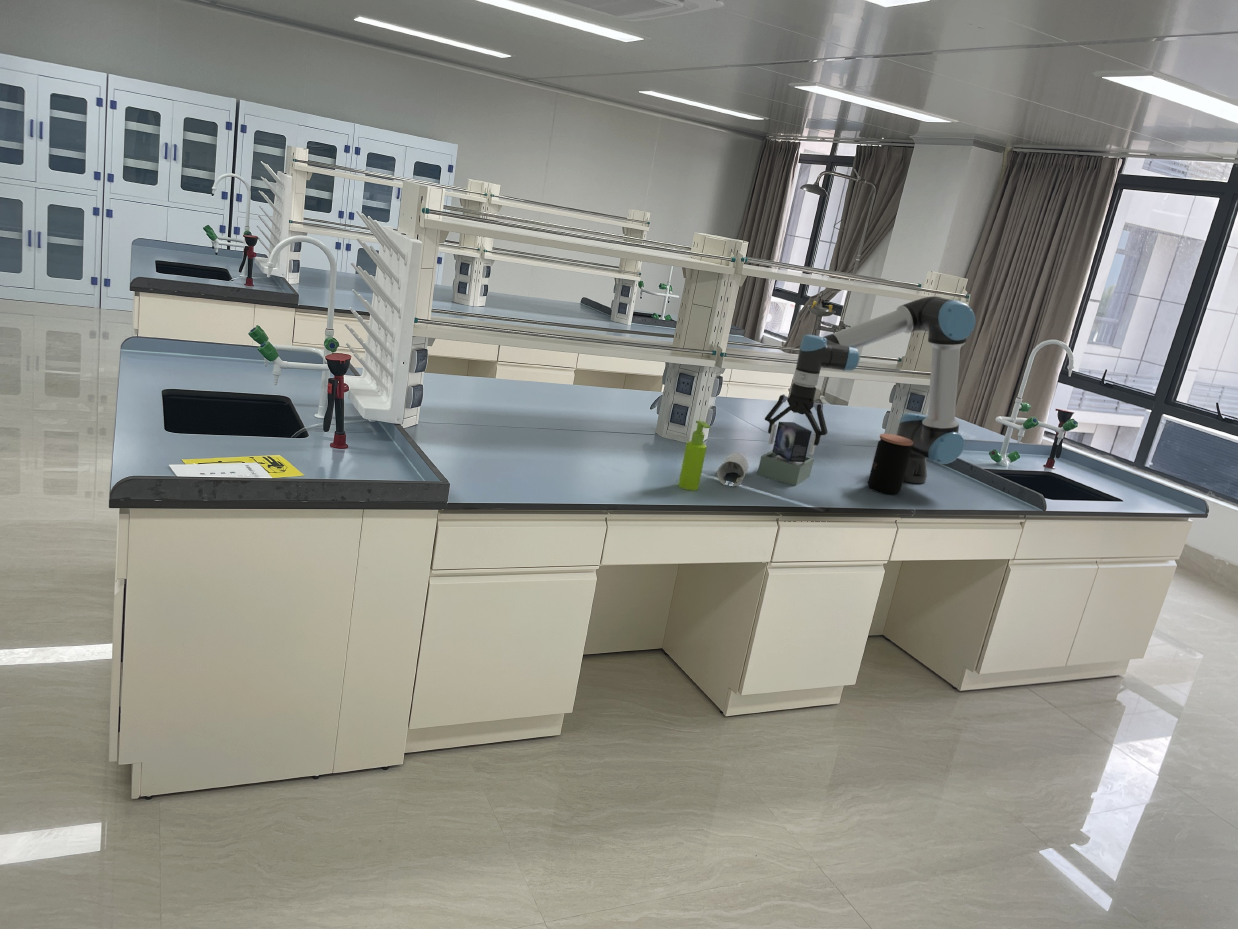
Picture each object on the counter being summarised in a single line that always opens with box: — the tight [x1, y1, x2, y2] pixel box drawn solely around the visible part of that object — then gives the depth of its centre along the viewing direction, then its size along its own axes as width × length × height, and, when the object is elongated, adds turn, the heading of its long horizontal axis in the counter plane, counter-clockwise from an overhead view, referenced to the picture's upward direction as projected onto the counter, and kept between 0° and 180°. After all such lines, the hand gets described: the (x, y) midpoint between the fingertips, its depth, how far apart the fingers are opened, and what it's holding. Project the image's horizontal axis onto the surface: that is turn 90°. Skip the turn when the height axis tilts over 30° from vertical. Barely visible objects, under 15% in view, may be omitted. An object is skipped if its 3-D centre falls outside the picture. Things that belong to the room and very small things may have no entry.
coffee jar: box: [867, 433, 913, 496], centre depth 287 cm, size 11×11×18 cm
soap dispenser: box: [678, 420, 711, 491], centre depth 253 cm, size 6×7×20 cm
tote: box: [756, 449, 815, 487], centre depth 283 cm, size 13×16×7 cm
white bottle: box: [716, 452, 749, 487], centre depth 271 cm, size 8×19×8 cm, turn 165°
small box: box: [771, 421, 812, 462], centre depth 281 cm, size 11×6×10 cm, turn 23°
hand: (790, 449), depth 281 cm, fingers open, 13 cm apart
